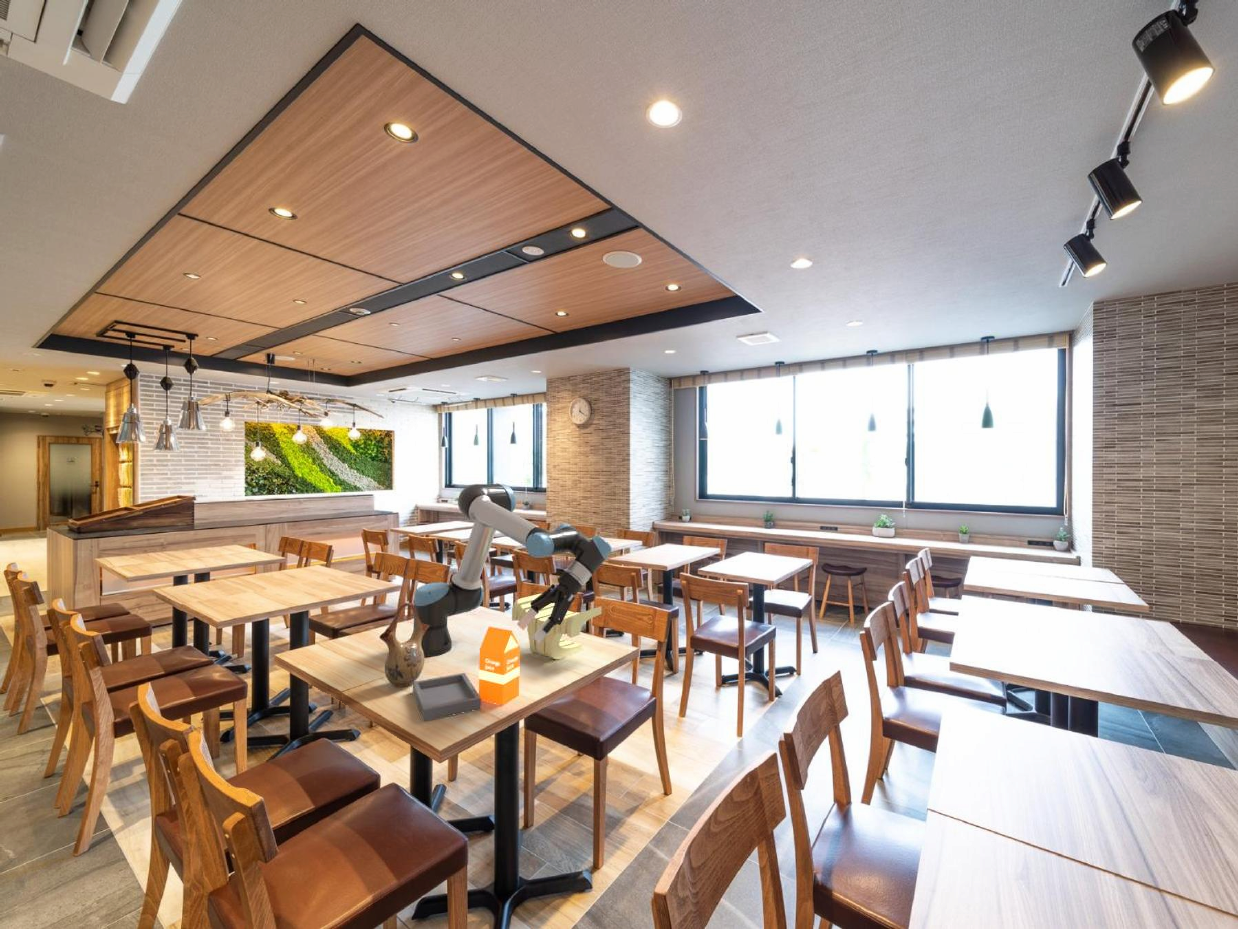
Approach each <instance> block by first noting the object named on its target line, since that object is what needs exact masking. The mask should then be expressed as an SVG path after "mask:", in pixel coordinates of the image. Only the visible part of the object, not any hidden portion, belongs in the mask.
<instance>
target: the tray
mask: <svg viewBox="0 0 1238 929" xmlns="http://www.w3.org/2000/svg"><path fill="white" fill-rule="evenodd" d="M412 693H413V696H414V699H415V702H416V705H417V707H418V709H419V713H420V712H421V713H420V715H422V716H421V718H422V721H423V722H427V721H432V720H431V719H433V720H437V718H438V719H442V718H445V717H444V716H447V717H451V716H450V715H452V716H454V715H453V714H456V715H460V714H459V713H461V714H463V713H462V712H466V713H469V712H468V711H470V712H473V711H472V710H475V711H480V710H481V709H482V700H481V697H480V696H479V692H478V691H477V690H476V688H475V687H474V685H473V684H472V682H471V680H470V679H469V677H468V676H467V674H466V672H463V673H456V674H451V675H445V676H439V677H433V678H428V679H422V680H417V681H416V680H415V681H414V682H413V683H412ZM479 709H480V710H479ZM441 717H442V718H441Z"/></svg>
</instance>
